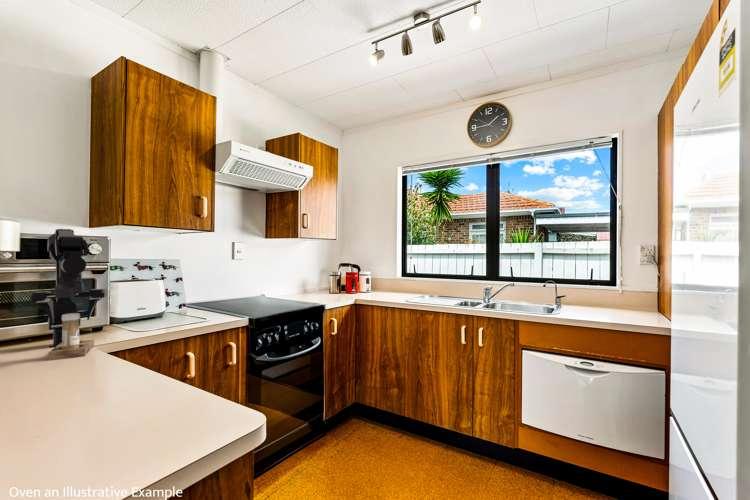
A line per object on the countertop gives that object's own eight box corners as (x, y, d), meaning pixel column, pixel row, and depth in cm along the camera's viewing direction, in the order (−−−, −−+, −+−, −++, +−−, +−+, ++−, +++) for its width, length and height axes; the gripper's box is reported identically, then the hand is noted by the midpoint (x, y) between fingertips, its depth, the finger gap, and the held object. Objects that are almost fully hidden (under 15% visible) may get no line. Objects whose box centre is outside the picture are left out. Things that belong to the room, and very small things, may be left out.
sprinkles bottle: (78, 355, 118) (78, 314, 118) (60, 357, 116) (60, 315, 116) (80, 352, 122) (80, 312, 122) (62, 354, 120) (62, 313, 120)
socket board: (94, 346, 131) (94, 339, 131) (84, 355, 117) (84, 348, 117) (61, 349, 126) (61, 342, 126) (48, 360, 113) (48, 352, 113)
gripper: (23, 275, 108) (23, 328, 107) (101, 273, 117) (101, 321, 116) (36, 274, 117) (36, 322, 117) (106, 272, 126) (107, 317, 126)
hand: (70, 321), depth 119 cm, fingers open, 9 cm apart
